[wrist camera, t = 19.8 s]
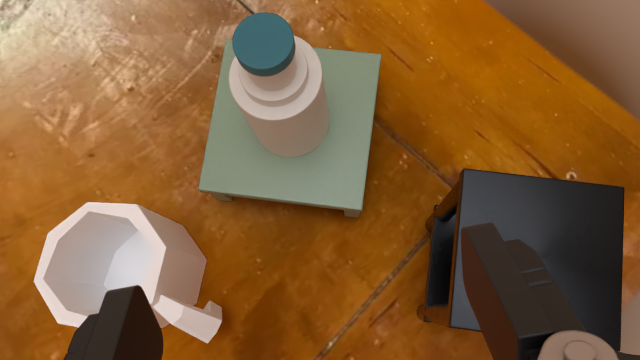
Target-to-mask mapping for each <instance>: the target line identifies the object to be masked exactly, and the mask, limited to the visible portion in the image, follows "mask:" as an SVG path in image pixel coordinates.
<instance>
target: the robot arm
mask: <svg viewBox="0 0 640 360" xmlns="http://www.w3.org/2000/svg"><path fill="white" fill-rule="evenodd" d="M461 254H462V275H463V282H464V287H465V291H466V294H467V297H468V300H469V303H470V305H471V307H472V310H473V312H474V314H475V317H476V319H477V321H478V324H479V326H480V329H481V331H482V333H483V336H484V338H485V340H486V343H487V345H488V347H489V350H490V352H491V355H492V357H493V359H494V360H640V356H639V355H631V354H625V353H621V352H618V351H615V350H613V349H612V347H611V346H610V345H609V344H608V343H606V342H605V341H604V340H602V339H601V338H599V337H597V336H595V335H593V334H590V333H588V332H587V331H586V329H585V328H584V326H583V325H582V323H581V322H580V320H579V319H578V317H577V315H576V314H575V312H574V311H573V309H572V307H571V306H570V304H569V303H568V301H567V300H566V298H565V296H564V295H563V293H562V292H561V290H560V289H559V287H558V285H557V284H556V283H554V279H553V277H552V276H551V274H550V273H549V271H548V270H546V266H545V265H544V263H543V262H542V260H541V259H540V257H539V255H538V254H537V252H536V251H535V250H534V249H532V248H531V247H529V246H528V245H526V244H525V243H524V242H522V241H521V240H519V239H515V240H510V241H504V240H503V239H502V237H501V235H500V233H499V232H498V230H497V228H496V226H495V225H494V224H493V223H492V222H490V223H485V224H479V225H474V226H468V227H462V228H461ZM162 354H163V336H162V331H161V328H160V325H159V323H158V321H157V319H156V317H155V314H154V312H153V310H152V308H151V306H150V303H149V301H148V299H147V297H146V295H145V292H144V290H143V289H142V287H141V286H139V285H135V286H130V287H124V288H119V289H113V290H109V291H107V292H106V294H105V296H104V299H103V302H102V305H101V307H100V310H99V313H97V314H91V315H89V316H88V317H87V318H86V319H85V320H84V322H83V323H82V324H81V325H80V326H79V328H78V329H77V330H76V331H75V333H74V335H73V338H72V340H71V343H70V346H69V348H68V354H66V356H65V358H64V360H161V359H162Z"/></svg>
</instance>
